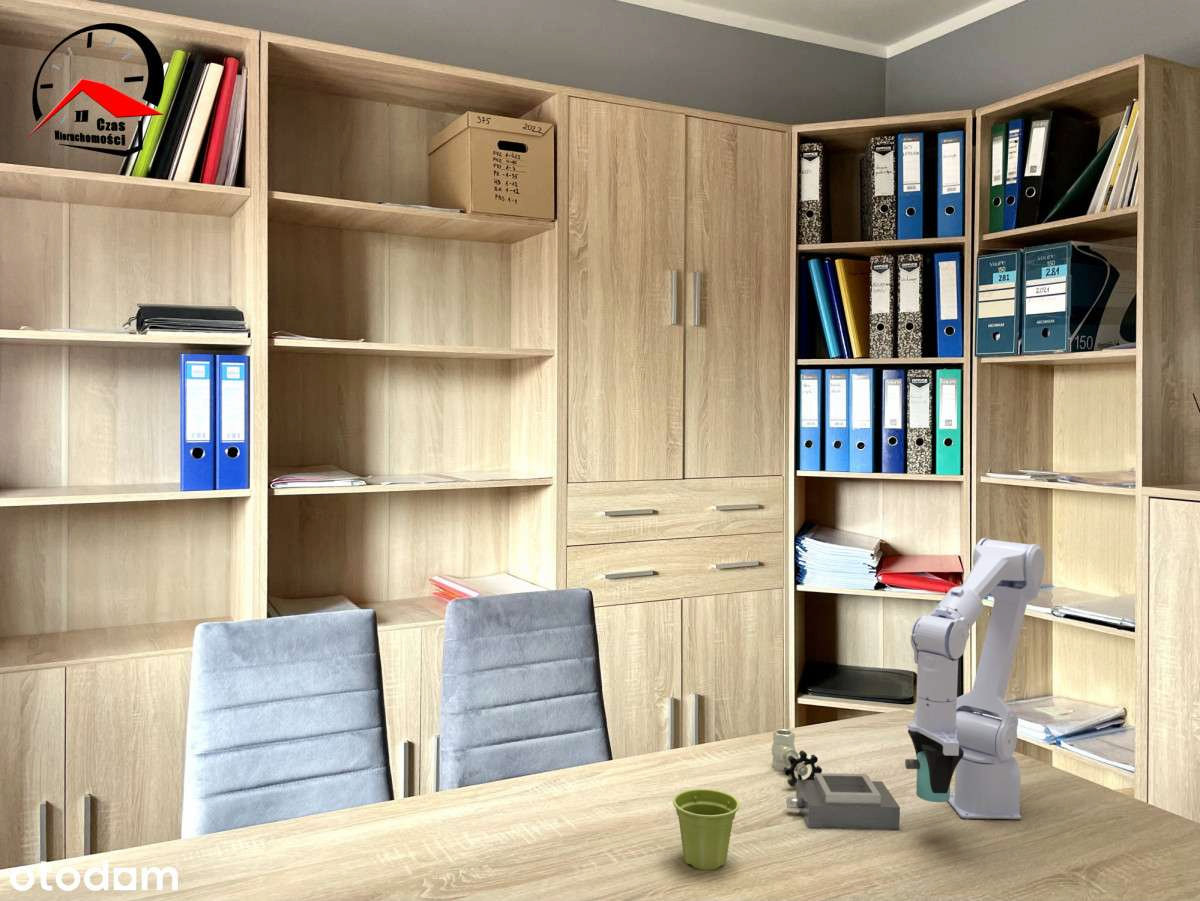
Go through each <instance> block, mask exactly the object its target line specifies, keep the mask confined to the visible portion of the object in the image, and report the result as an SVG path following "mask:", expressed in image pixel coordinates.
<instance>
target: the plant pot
mask: <svg viewBox="0 0 1200 901" xmlns="http://www.w3.org/2000/svg"><path fill="white" fill-rule="evenodd" d="M672 804H673V806H674V808H675V811H676V815H677V817H678V823H679V830H680V837H681V839H680V840H681V845H682V847H681V848H682V855H683V856H682V857H683V861H684V862H685V863H686V864H687V865H688V864H689V865H691V866H692V867H693V868H695V869H697V870H703V871H704V870H707V871H708V870H716V869H718V868H720V866H723V867H724V866H725V865H726V863H727V858H728V852H729V846H730V841H731V840H730V839H731V835H732V828H733V822H734V820H735V817H736V813H737V811H739V809H740V802H739V800H738V798H736V797H735V796H734V795H732V794H729V793H727V792H725V791H720V790H717V789H708V788H694V789H687V790H684V791H680V792H678V793H677V794H675V796H674V797H673V799H672Z"/></svg>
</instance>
